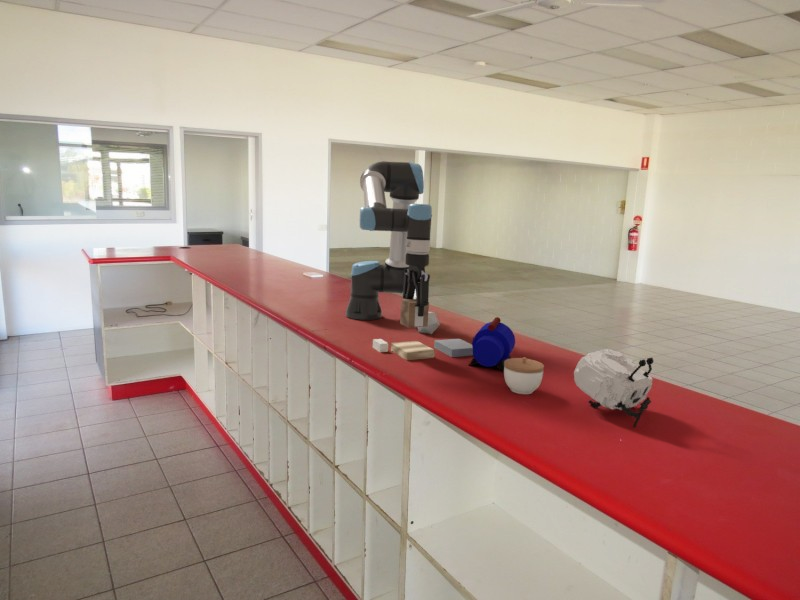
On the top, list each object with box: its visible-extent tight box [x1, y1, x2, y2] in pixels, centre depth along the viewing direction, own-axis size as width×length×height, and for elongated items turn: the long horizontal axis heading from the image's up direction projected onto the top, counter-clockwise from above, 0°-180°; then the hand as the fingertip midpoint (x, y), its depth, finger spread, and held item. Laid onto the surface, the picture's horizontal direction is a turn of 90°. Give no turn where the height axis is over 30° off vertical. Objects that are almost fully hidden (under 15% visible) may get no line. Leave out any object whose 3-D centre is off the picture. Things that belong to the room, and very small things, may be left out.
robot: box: [573, 348, 654, 429], centre depth 141 cm, size 17×20×18 cm
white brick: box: [372, 338, 389, 353], centre depth 189 cm, size 6×3×3 cm, turn 26°
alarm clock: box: [467, 316, 516, 372], centre depth 175 cm, size 12×12×15 cm
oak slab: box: [390, 340, 436, 361], centre depth 185 cm, size 12×10×3 cm
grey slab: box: [433, 338, 473, 358], centre depth 191 cm, size 12×10×3 cm
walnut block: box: [399, 298, 430, 329], centre depth 183 cm, size 6×7×8 cm
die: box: [416, 311, 441, 335], centre depth 215 cm, size 8×9×10 cm
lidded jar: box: [503, 356, 545, 395], centre depth 154 cm, size 11×11×9 cm
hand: (413, 323), depth 183 cm, fingers closed on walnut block, 6 cm apart
